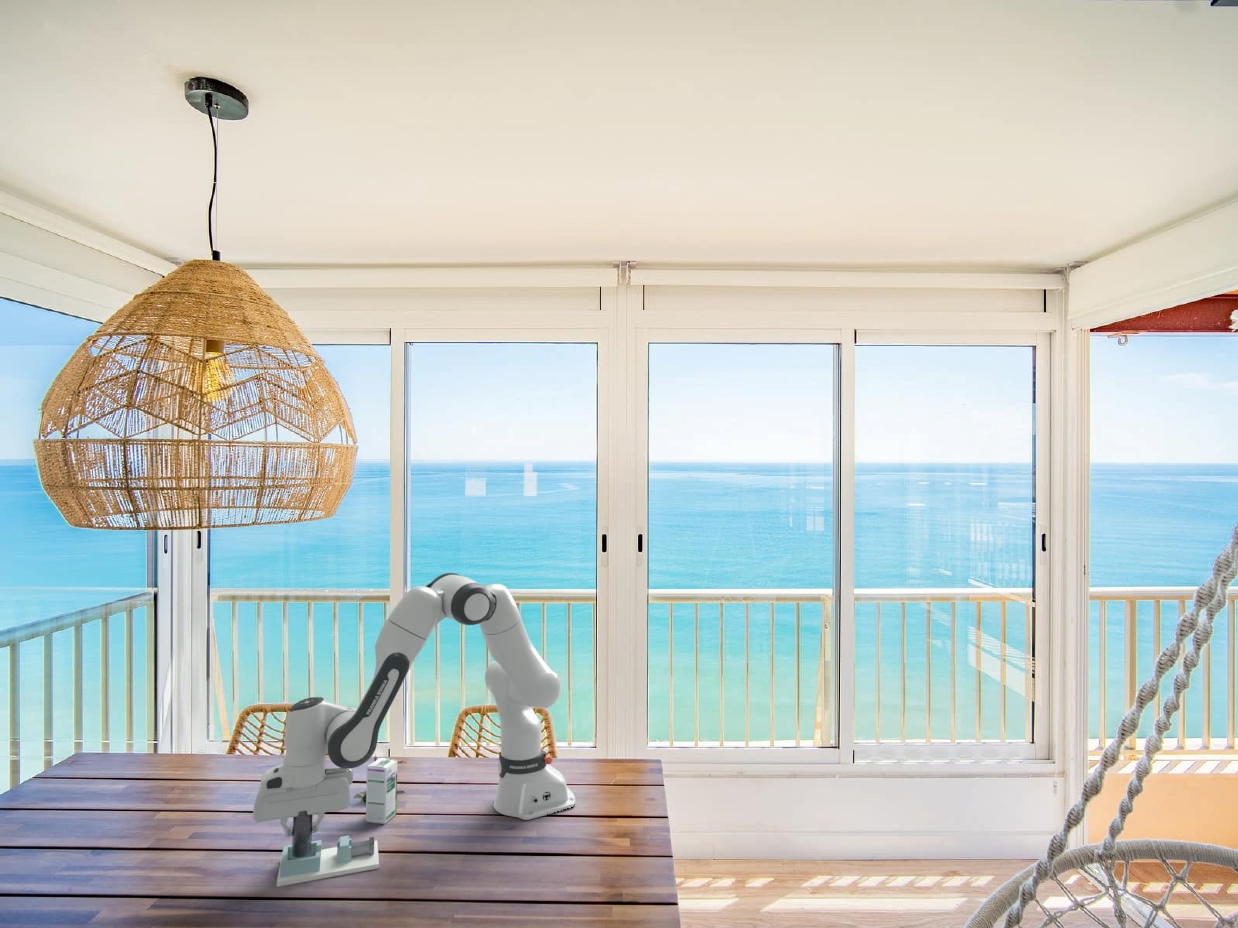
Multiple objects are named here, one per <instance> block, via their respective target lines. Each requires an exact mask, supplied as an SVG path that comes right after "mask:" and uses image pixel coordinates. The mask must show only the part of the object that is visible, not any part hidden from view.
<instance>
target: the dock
mask: <svg viewBox="0 0 1238 928" xmlns="http://www.w3.org/2000/svg"><path fill="white" fill-rule="evenodd" d="M336 842H337V844H336V845H340V848H337V846H334V847H330V848H329V847H328V848H323V849H322V839H317V840H313V841H312V844H311V853H310V854H308V855H306V856H303V857H293V856H292V844H287V845H283V847H282V848H283V849H282V854H281V857H280V863H279V868H278V874H277V879H276V888H278V887H283V886H289V885H295V884H300V883H307V882H311V881H316V880H323V879H327V878H332V877H338V876H345V875H350V874H355V873H360V872H365V871H373V870H377V869H380V860H379V859H380V857H379V846H378V839H377V840H374V854H373V855H369V854H363V855H357V856H352V857H351V846H349V843H352V837H350V835H344V836H340V837H339V839H338V840H337V841H336Z"/></svg>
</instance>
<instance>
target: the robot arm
mask: <svg viewBox="0 0 1238 928" xmlns="http://www.w3.org/2000/svg"><path fill="white" fill-rule="evenodd" d="M513 597H514V596H512V594H511V592H510V590H509V589H508V588H507V587H506V586H505V585H504V584H501V583H491V584H488V585H485V586H484V585H483V584H481V583H479V582H477V581H475V580H473V579H471V578H470V577H466V576H462V575H460V574H458V573H453V572H446V573H443V574H440V575H437V577H435V578H434V579H433V580H432V581H431V582H430V583H428V584H427V585H425V586H424V585H423V586H421V585H417V586H414V587H411V588H410V589H409V590H408V591H407V592H406V594H405V595H404V596H403V597H402V598H401V600H399V602H398V603H397V604H396V605H395V607H394V608H393V610H391V613H390V615H388V617H387V619H386V620H385V622H384V624H383V625H382V627H381V629H380V632H379V634H378V637H377V639H376V642H375V644H374V649H375V650H374V652H375V654H374V655H375V670H374V674H373V678H372V680H371V683H370V684H369V686H368V688H367V690H366V691H365V694H364V696H363V697H362V699H361V701H360V703H359V704H358V707H355V706H352V705H351V706H349V705H347V706H346V705H341V704H336V703H332V702H330V701H328V700H326V699H325V698H324V697H321V696H312V697H307V698H303V699H302V700H299V701H297V702H296V703H294V704H293V705H292V706H291V707H290V708H289V709H288V712H287V715H286V720H285V727H284V747H285V755H284V758H283V763H281V764H278V765H275V766H274V767H271V768H269V769H266V770H265V771H264V772H263V774H262V775H261V779H260V786H259V787H258V789H257V793H256V796H255V799H254V805H253V811H252V819H253V821H254V822H255V823H261V822H267V821H277V820H280V825H281V827H282V828H283V829H284V831H285V834H284V835H285V837H284V838H289V837H290V838H291V837H293V824H292V825H290V824H289V823H288V819H290V818H293V817H297V816H298V814H299V812H301V811H307V814H308V815H311V814H313V815H315V814H317V819H316V821H312V834H316V833H319V832H320V830H319V829H320V824H321V823H322V822H323V819H324V818H325V813H329V812H336V811H337V812H338V811H342V810H347V809H349V807H350V806H351V800H352V799H351V798H352V797H351V796H352V795H351V785H352V783H353V781H354V772H353V770H352V769H354V768H358V767H360V766H362V765H364V764H365V763H366V762H367V761H369V760H370V759H371V757H372V756H373V755H374V753H375V752H376V748H377V746H378V739H379V731H380V729H381V726H382V723H383V722H384V719H385V717H386V715H387V714H388V712H389V710H390V708H391V706H392V705H393V702H394V700H395V698H396V697H397V695H398V692H399V691H400V688H401V686H402V684H403V683H404V680H405V678H406V676H407V675H408V673H409V671H410V670H411V668H412V666H413V664H414V662H415V661H416V659H417V658H418V656H419V654H420V653H421V651H422V650H423V648H424V647H425V644H426V643H427V642H428V640H429V638H430V637H431V635H432V632H433V631H434V628H436V626H437V625H438V624H439V623H440V622H441V621H443V620H444V619H446V618H448V619H451V620H454V621H456V622H457V623H459V624H462V625H465V626H475V625H479V627H480V629H481V633H482V635H483V639H484V640H485V644H486V647H487V650H488V652H489V655H490V657H492V659H493V661H491V663H490V664H489V665H488V667H487V668H486V672H485V675H484V682H485V685H486V688H487V689H488V691H489V692H490V693H491V696H492V698H493V701H494V702H495V707H496V709H497V713H498V717H499V723H500V751H499V755H498V766H497V767H498V769H497V771H498V775H499V776H498V784H497V790H496V794H495V798H494V801H493V804H492V806H493V809H494V811H496V812H497V813H499V814H501V815H503V816H508V817H514V818H517V819H520V820H525V821H528V820H532V819H533V820H534V819H537V818H539V817H543V816H547V814H548V815H551V814H554V812H555V813H558V812H557V811H559V812H561V810H562V811H564V810H563V809H566V808H569V809H572V808H571V807H573V806H574V804H575V805H576V796H575V795H574V793H573V792H572V790H571V789H570V788H569V787H568V785H567V781H566V779H565V776H564V775H563V774H562V773H561V772H560V770H558V769H557V768H555V767H553V766H552V765H551V764H552V763H553V761H554V759H553V758H552V756H551V755H550V754H548V752H547V751H545V750H544V749H543V748H542V724H541V721H540V719H539V717H538V716H537V714H536V713H535V711H534V709H549V708H552V707H553V706H554V705H555V704H556V703H557V701H558V700H559V698H560V695H561V693H562V681H561V678H560V676H559V675H558V674H557V673H556V672H555V671H554V670H552V669H551V668H550V667H549V665H548V664H547V663H546V661H544V659H543V658H542V656H541V655H540V653H539V652H538V651H537V649H536V647H534V645H533V643H532V641H531V639H530V637H529V635H528V632H527V630H526V629H527V628H526V626H525V623H524V621H523V618H522V616H521V612H520V611H519V608H518V606H517V603H516V601H515V600H514V598H513ZM533 708H534V709H533ZM327 754H328V757H329V760H330V762H332V763H333V765H335V766H337V767H335V768H334V767H331V768H326V767H327V765H326V764H327V761H326V760H327ZM574 807H575V806H574ZM574 807H573V808H574ZM566 810H567V809H566Z"/></svg>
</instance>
